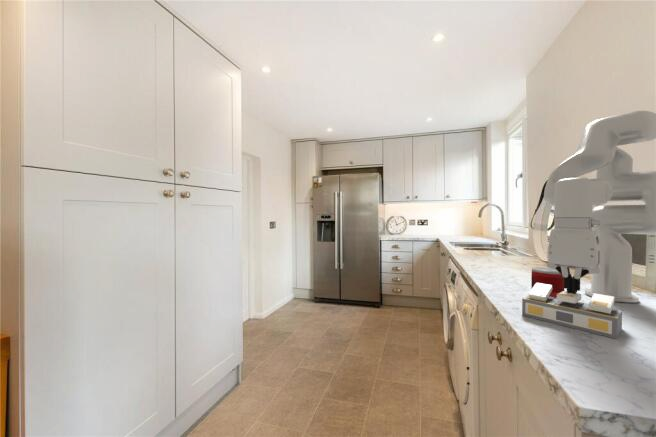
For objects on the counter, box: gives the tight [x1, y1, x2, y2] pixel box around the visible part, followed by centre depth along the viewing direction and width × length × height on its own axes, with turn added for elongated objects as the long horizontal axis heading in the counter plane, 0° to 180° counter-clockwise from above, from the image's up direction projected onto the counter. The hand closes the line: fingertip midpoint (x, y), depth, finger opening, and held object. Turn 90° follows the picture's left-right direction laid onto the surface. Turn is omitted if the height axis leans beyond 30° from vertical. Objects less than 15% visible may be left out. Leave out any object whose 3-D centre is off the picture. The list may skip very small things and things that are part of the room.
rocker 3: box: [588, 293, 616, 314], centre depth 65 cm, size 7×4×2 cm, turn 127°
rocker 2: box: [557, 290, 582, 303], centre depth 70 cm, size 7×4×2 cm, turn 127°
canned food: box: [530, 266, 565, 298], centre depth 84 cm, size 8×8×11 cm
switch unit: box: [521, 295, 623, 340], centre depth 70 cm, size 9×18×5 cm, turn 37°
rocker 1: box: [528, 283, 552, 302], centre depth 74 cm, size 7×4×2 cm, turn 127°
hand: (572, 292), depth 72 cm, fingers closed
